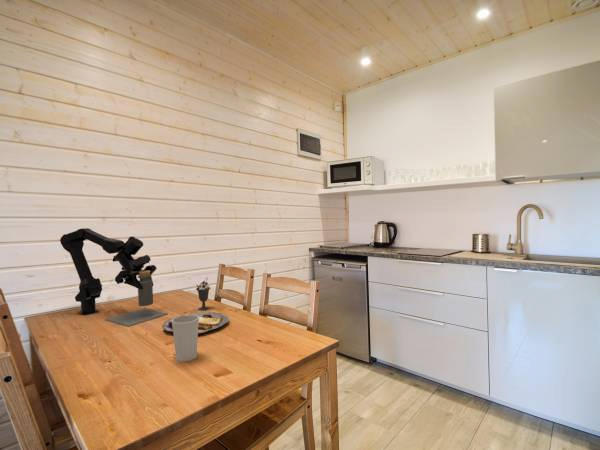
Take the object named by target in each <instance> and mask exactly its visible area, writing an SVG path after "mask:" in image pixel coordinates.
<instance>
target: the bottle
mask: <svg viewBox="0 0 600 450" xmlns="http://www.w3.org/2000/svg"><path fill="white" fill-rule="evenodd" d="M143 270H144V269H143ZM150 277H152V275H151V274H150V270H144V271H139V275H138V278H137V279H138V281H139V282H140V284H141V285H142V287H143V289H142V290H140V289H138V288H137V293H138V294H137V298H138V306H139V307H147V306H151V305H153V304H154V294H153V293H154V292H153V291H154V289H153V287H154V285H153V286H152V281H153V279H152V280H151V279H150Z"/></svg>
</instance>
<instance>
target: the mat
mask: <svg viewBox="0 0 600 450" xmlns="http://www.w3.org/2000/svg"><path fill="white" fill-rule="evenodd" d="M167 315H169V314H168V313H167V312H162V311H157V310H153V309H148V308H146V307H145V308H140V309H136V310H133V311H130V312H125V313H123V314H118V315H115V316H111V317H108V318H105V319H104V320H105V321H108V322H111V323H116V324H117V325H121V326H125V327H128V328H129V327H132V326H136V325H138V324H142V323H145V322H148V321H152V320H154V319H158V318H161V317H163V316H167Z"/></svg>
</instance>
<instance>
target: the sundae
mask: <svg viewBox="0 0 600 450" xmlns="http://www.w3.org/2000/svg"><path fill="white" fill-rule="evenodd" d="M207 280H208V277H206V278H205V280H203V281H202V282H200V284H196V286H197V288H196V289H195V290H196V291H197V293H198V300H199V301H200V302H201V307H199V308H198V311H207V310H209V309H210V306H209V307H208V306H206V301H208V299H209V293H210V290H211V286H210V285H209V284H208V281H207Z"/></svg>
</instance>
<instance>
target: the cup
mask: <svg viewBox="0 0 600 450" xmlns="http://www.w3.org/2000/svg"><path fill="white" fill-rule="evenodd" d="M182 315H183V314H182ZM182 315H179V317H177V316H175V317H176V318H175V317H173V318H174V319H172V318H171V319H172V328H173V331H172V332H173V343H174V351H175V355H174V357H175V361H177V362H189V361H193V360H194V359H196V358H197V357H198V340H199V339H198V335H199V333H198V332H199V330H198V325H199V316H197V315H183V316H182Z"/></svg>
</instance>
